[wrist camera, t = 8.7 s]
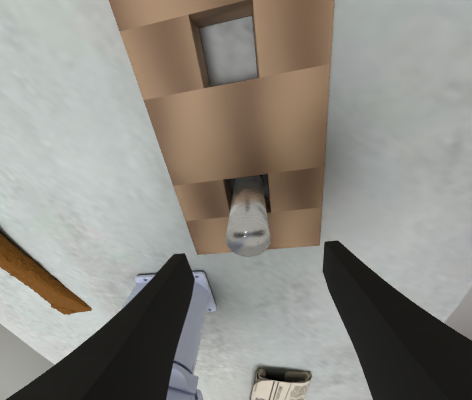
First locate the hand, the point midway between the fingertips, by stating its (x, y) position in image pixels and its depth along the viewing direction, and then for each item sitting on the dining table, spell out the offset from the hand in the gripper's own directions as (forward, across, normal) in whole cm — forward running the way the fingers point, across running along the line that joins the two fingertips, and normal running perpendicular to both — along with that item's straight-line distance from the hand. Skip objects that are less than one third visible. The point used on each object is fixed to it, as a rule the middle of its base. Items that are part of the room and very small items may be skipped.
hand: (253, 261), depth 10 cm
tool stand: (+9, 0, -5) cm, 11 cm away
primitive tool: (+10, +31, +9) cm, 33 cm away
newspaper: (+10, +2, +55) cm, 56 cm away
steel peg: (+9, 0, 0) cm, 9 cm away
